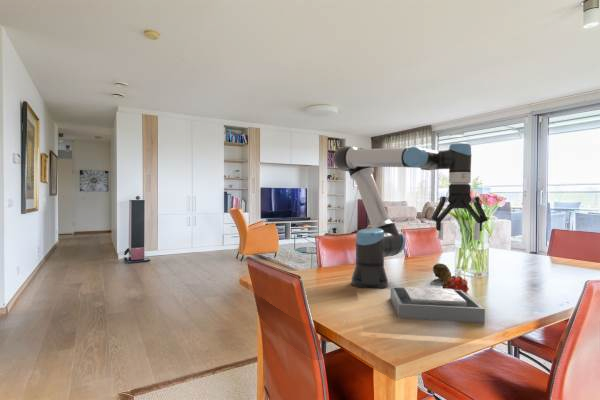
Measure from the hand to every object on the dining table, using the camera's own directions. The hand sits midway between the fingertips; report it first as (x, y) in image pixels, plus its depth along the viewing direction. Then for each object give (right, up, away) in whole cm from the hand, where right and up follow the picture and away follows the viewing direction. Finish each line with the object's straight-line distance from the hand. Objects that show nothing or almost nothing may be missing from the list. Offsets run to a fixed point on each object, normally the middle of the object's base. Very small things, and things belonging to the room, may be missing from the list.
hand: (458, 239), depth 129 cm
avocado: (+3, -21, +22) cm, 31 cm away
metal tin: (-18, -20, -20) cm, 34 cm away
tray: (-18, -21, -20) cm, 34 cm away
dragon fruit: (-2, -21, -2) cm, 22 cm away
